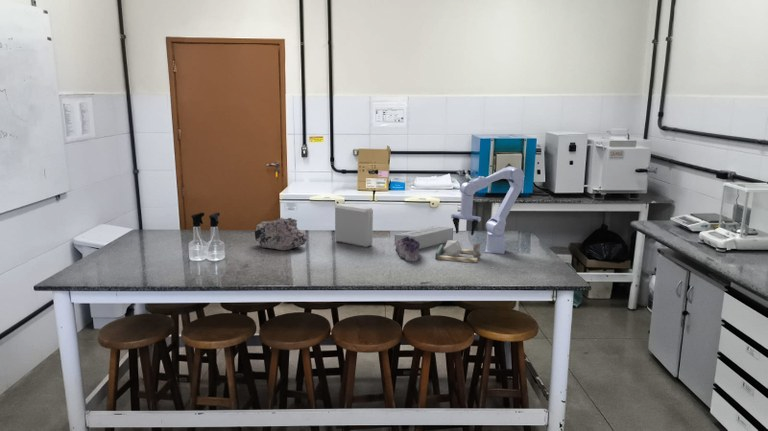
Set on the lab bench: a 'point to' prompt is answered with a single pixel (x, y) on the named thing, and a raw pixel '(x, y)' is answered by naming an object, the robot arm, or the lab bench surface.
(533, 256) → the lab bench surface
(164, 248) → the lab bench surface
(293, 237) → the mineral sample
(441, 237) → the long grey block
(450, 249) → the die
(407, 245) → the geode
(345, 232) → the grey thick block
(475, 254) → the tan frame
